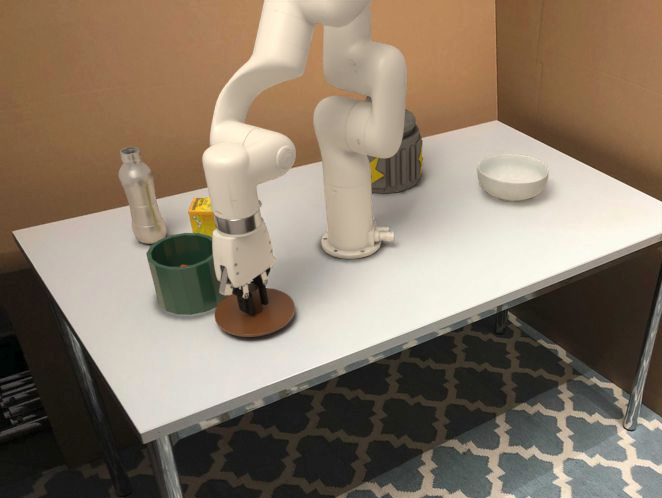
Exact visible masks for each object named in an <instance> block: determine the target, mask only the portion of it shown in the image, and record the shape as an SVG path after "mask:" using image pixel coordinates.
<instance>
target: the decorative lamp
mask: <svg viewBox="0 0 662 498" xmlns="http://www.w3.org/2000/svg"><path fill="white" fill-rule="evenodd" d="M364 101H365V102H369V103H372V99H371V97H370V96H366V97H365V100H364ZM416 121H417V120H416V116H415V115H414V113H413V112H412V111H411V110H408V109H407V108H405V120H404V131H403V138H402V142H401V145H400V147H399V150H398V151H397V153H396V154H395V155H394V156H392V157H390V158H377V157H373V156H369V155H367V157H368V160H369V163H370V168H371V189H372V193H375V194H393V193H400V192H402V191H407V190H408V189H411V188H412V187H414V186H415V185H416V184H417V183H418V182H419V181H420V177H421V176H422V171H423V169H422V168H423V165H424V157H423V144H424V141H423V137H422V135H421V132H420V127H419V126H418V124H417V123H416Z"/></svg>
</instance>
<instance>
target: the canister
mask: <svg viewBox="0 0 662 498" xmlns="http://www.w3.org/2000/svg"><path fill="white" fill-rule="evenodd" d="M146 259H147V263H148V266H149V267H148V268H149V270H150V271H149V272H150V274H151V278H152V282H153V286H154V289H155V290H154V291H155V294H156V298H157V301H158V305H159V307H161V308H162V309H163V310H164V311H165V312H167V313H171V314H175V315H179V316H180V315H183V316H184V315H185V316H192V315H197V314H203V313H207V312H209V311H211V310H214V309H216V308H217V306H218V305H219V303H220V302H221V301H222V300H224V299H225V298H226V297H227V296H225V295H223V294H220V293H219V289H220V284H221V281H218V280H217V277H216V273H215V267H214V259H213V249H212V237H211V236H208V235H204V234H200V233H193V232H183V233H176V234H170V235H169V236H165V238H163V239H160V240H158V241H157V242H156V243H152V244H151V245H150V246H149V248H148V249H147V251H146ZM181 265H188V266H184V267H180V266H181Z"/></svg>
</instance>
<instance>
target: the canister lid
mask: <svg viewBox="0 0 662 498" xmlns="http://www.w3.org/2000/svg"><path fill="white" fill-rule="evenodd" d="M248 291H249V295H250V296H252V299H253V304H254V310H255V314H253V315H250V314H247V313H245V312H243V311H241V310H240V309H239V305H238V300H237V296H236V295H228V296H226V298H225V299H224V300H222V301H221V302H220V303H219V305H218V306H217V307H215V310H214V320H215V323H216V325H217V326H218V327H219V329H221V330H222V331H223V332H225V333H226V334H229V335H232V336H237V337H243V338H253V337H254V338H255V337H261V336H266V335H269V334H272V333H275V332H277V331H279V330H281V329H282V328H284V327H285V326H287V325H288V324H289V323H290V322H291V320H292V319H293V317H294V316H295V312H296V311H295V310H296V307H295V302H294V300H293V299H292V298H291V296H289V294H288V293H286V292H284V291H281V290H279V289H275V288H272V287H271V288H270V287H266V291H267V297H268V302H269V303H268V304H267V305H263V304H262V302H261V296H260V291H259V286H258V285H257V284H255V283H249V282H248Z"/></svg>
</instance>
